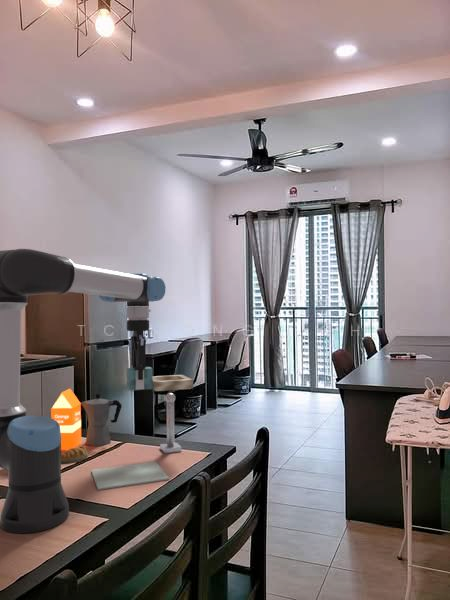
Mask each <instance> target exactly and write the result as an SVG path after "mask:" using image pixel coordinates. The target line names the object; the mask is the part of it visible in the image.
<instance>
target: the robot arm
mask: <svg viewBox="0 0 450 600" xmlns="http://www.w3.org/2000/svg"><path fill="white" fill-rule="evenodd" d="M166 288H167V287H166V283H165V281H164V279H163V278H161V277H159V276H151V275H150V276H149V274H146V273H127V272H122V271H117V270H112V269H107V268H102V267H98V266H91V265H86V264H80V263H76V262H73V261H72V260H71V259H70V257H66V256H60V255H57V254H53V253H50V252H49V253H48V252H45V251H41V250H35V249H31V248H16V249H7V250H0V469H3V470H7V471H8V472H7V473H8V474H7V475H8V480H7V481H8V491H7V494H6V497H5V499H4V502H3V506H2V509H1V512H0V527H1V529H2V530H4V531H5V532H7V533H8V532H9V533H14V534H31V533H32V534H33V533H37V532H42V531H45V530H49V529H52V528H54V527H57V526H58V525H60V524H62V523H64V522H65V521H66V520H67V519H68V518H69V515H70V506H69V502H68V501H69V500H68V498H67V496H66V493H65V490H64V487H63V484H62V462H61V454H62V450H61V439H62V438H61V432H60V425H59V423H58V422H57V421H56V420H54V419H52V418H51V417H48V416H45V415H40V416H37V415H27V409H26V407H24V406H23V405H22V404H21V403H20V401H21V395H20V394H21V345H22V344H21V343H22V339H21V337H22V332H21V331H22V330H21V329H22V310H23V309H24V308H25V307H26V306H28V302H29V301H28V299H29V298H28V297H29V296H38V295H39V296H40V295H65V294H67V293H77V294H85V295H86V294H87V295H95V296H98V298H99V299H100V300H101V301H103V302H108V303H114V302H115V303H116V302H117V303H118V302H119V303H124V302H126V319H128V320H126V331H128V332H132V336H131V337H130V344H131V346H130V347H131V366H132V367H131V368H135V369H134V370H136V390H135V391H141V390H140V389H144V369H145V368H146V367H147V366H146V364H147V363H146V359H147V358H146V348H147V347H146V346H147V345H146V344H147V339H146V337H145V336H144V332H148V331H149V330H150V320H149V318H150V312H152V311H151V309H150V303H151V302H152V303H153V302H159V301H161V300H162V299H163V298H164V297H165V295H166Z"/></svg>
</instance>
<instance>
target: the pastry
mask: <svg viewBox="0 0 450 600" xmlns="http://www.w3.org/2000/svg"><path fill="white" fill-rule="evenodd" d="M88 457H89V453H88V450H87V448H86V446H84V445H81V446H77V447H76V448H71V449H69V450H65V451H63V452H61V463H62V464H63V463H64V464H65V463H66V464H67V463H73V462H79V461H83V460H87V459H88Z"/></svg>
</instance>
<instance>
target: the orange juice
mask: <svg viewBox="0 0 450 600" xmlns="http://www.w3.org/2000/svg"><path fill="white" fill-rule="evenodd" d="M81 407H82V404H81V402H80V401H79V399H78V397H77V395H75V393H74V392H73V391H72V389H71V388H68V389H66V390H64V391H62V392H61V393H60V395H59V396H58V398H57V400H56V401H55V402H54V404H53V406H52V407H51V408H50V412H51V413H50V414H51V415H50V416H51V417H50V418H52V419H54V420H56V421H57V422H58V423H59V425H60V432H61V438H62V439H61V451H68V450H69V449H71V448H76V447H79V445H80V444H82V414H81V411H82V408H81Z"/></svg>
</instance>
